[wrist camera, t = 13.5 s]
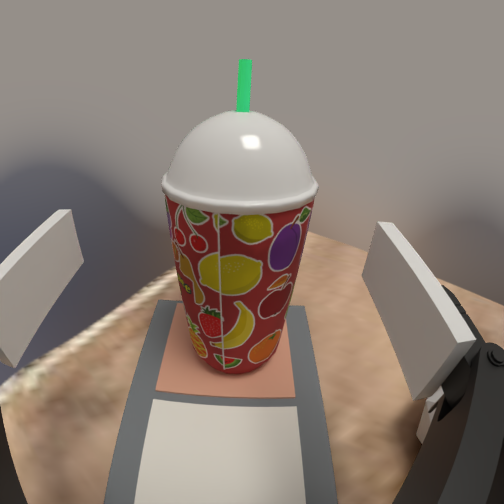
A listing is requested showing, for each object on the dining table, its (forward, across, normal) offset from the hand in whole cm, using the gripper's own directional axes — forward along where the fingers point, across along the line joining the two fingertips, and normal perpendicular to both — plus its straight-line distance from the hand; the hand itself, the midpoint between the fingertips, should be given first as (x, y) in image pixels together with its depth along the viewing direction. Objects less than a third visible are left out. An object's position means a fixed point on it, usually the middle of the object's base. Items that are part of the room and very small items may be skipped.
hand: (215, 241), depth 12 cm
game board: (0, 0, -14) cm, 14 cm away
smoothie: (+5, +1, -13) cm, 14 cm away
